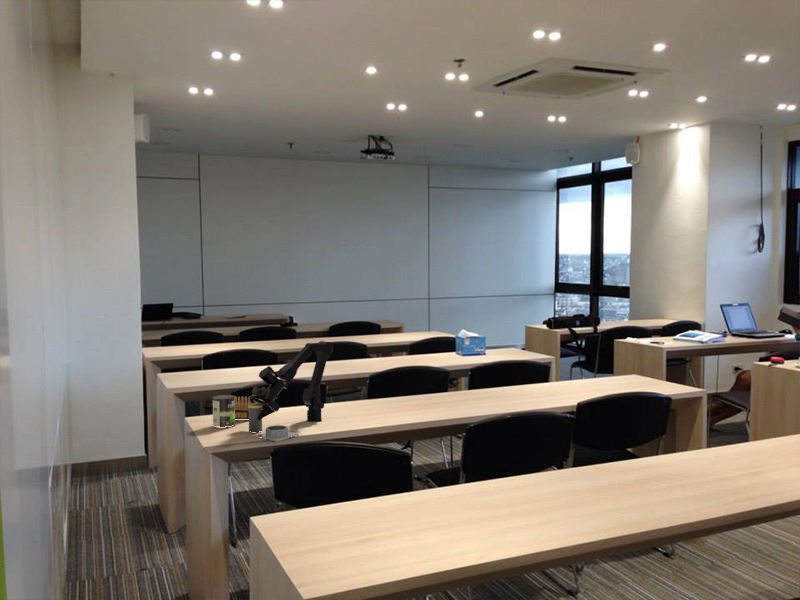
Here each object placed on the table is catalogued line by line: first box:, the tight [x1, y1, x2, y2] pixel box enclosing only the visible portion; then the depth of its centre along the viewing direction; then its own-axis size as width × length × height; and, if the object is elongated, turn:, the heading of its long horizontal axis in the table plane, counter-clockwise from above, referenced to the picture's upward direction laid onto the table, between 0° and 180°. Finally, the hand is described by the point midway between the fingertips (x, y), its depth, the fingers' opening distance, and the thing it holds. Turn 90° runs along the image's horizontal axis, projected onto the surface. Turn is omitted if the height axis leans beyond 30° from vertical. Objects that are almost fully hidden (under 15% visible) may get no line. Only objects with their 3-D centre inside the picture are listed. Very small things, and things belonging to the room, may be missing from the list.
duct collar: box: [255, 424, 299, 443], centre depth 297 cm, size 13×13×4 cm
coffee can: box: [211, 394, 236, 427], centre depth 316 cm, size 10×10×14 cm
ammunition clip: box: [234, 395, 251, 419], centre depth 328 cm, size 11×2×12 cm, turn 81°
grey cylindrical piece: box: [248, 403, 263, 432], centre depth 305 cm, size 6×6×12 cm
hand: (252, 417), depth 304 cm, fingers open, 9 cm apart
